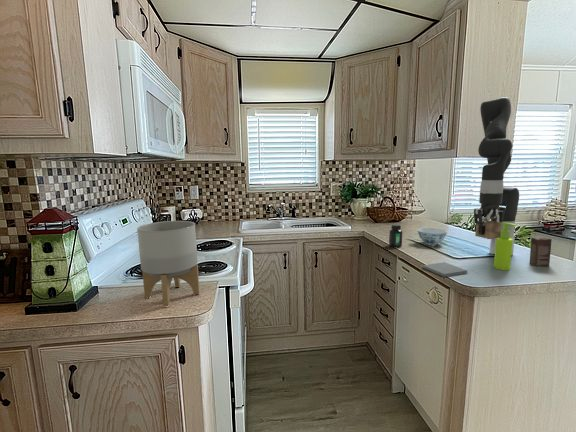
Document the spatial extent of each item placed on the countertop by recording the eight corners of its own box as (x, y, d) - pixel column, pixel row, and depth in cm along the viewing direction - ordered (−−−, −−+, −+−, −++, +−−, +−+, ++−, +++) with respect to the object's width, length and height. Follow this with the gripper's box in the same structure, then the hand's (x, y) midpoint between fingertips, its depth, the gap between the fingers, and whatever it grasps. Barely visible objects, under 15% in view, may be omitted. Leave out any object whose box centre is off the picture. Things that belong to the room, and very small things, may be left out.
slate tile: (444, 264, 143) (444, 262, 142) (467, 273, 131) (467, 270, 131) (422, 267, 139) (423, 265, 139) (444, 276, 128) (444, 274, 127)
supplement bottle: (400, 248, 171) (401, 226, 169) (387, 247, 174) (388, 225, 172) (403, 245, 177) (403, 224, 175) (390, 244, 180) (391, 223, 178)
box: (541, 262, 143) (544, 236, 141) (549, 266, 138) (552, 239, 136) (528, 263, 143) (530, 237, 141) (535, 266, 138) (538, 239, 136)
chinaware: (451, 244, 177) (452, 230, 176) (436, 248, 169) (437, 234, 168) (426, 239, 190) (427, 226, 188) (411, 243, 181) (412, 230, 180)
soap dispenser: (507, 271, 132) (512, 224, 129) (490, 267, 138) (494, 222, 135) (515, 269, 135) (520, 223, 131) (498, 265, 141) (502, 221, 137)
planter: (203, 284, 125) (198, 219, 120) (195, 305, 106) (189, 229, 102) (153, 287, 122) (147, 221, 118) (136, 309, 104) (128, 232, 100)
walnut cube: (486, 234, 129) (487, 220, 128) (500, 237, 124) (501, 222, 123) (475, 235, 127) (476, 221, 126) (488, 239, 122) (490, 223, 121)
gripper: (495, 190, 128) (492, 230, 131) (468, 191, 124) (465, 233, 126) (514, 191, 121) (510, 234, 124) (486, 193, 117) (482, 237, 119)
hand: (487, 233), depth 125 cm, fingers closed on walnut cube, 6 cm apart
